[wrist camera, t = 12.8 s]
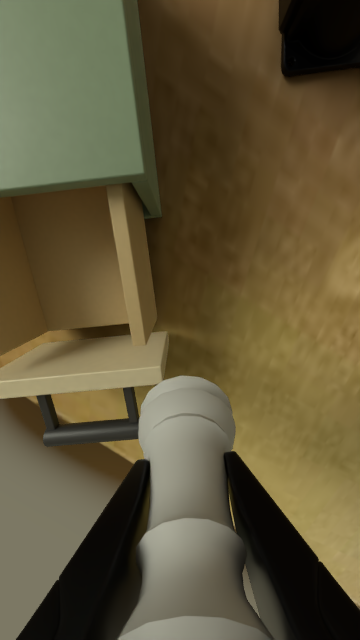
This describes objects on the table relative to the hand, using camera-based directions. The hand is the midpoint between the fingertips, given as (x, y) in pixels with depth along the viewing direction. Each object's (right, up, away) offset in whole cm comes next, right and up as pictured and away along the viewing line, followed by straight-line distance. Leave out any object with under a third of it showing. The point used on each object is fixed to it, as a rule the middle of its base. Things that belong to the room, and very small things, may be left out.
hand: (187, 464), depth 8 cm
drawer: (-7, +7, +11) cm, 14 cm away
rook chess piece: (0, +1, +3) cm, 3 cm away
